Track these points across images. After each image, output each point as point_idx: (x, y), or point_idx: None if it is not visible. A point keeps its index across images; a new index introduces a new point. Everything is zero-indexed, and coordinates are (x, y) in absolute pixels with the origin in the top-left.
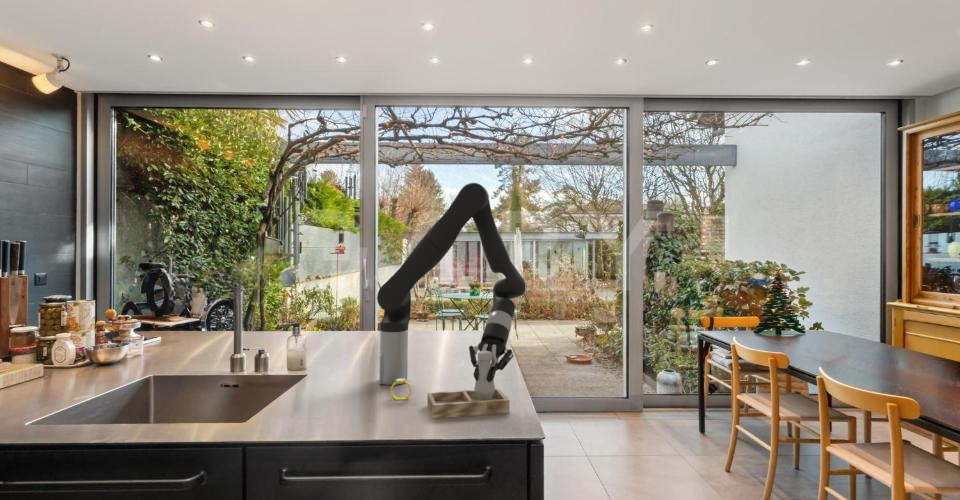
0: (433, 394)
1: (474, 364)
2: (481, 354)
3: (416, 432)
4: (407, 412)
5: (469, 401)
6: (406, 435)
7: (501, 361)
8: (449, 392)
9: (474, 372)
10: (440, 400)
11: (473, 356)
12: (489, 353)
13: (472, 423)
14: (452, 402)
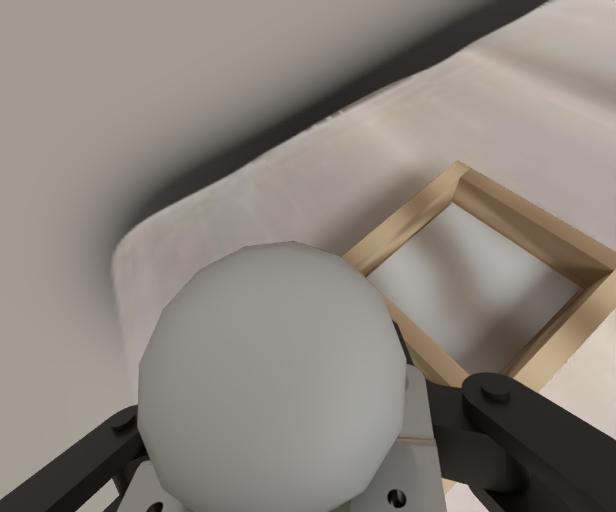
0: (603, 281)
1: (451, 388)
2: (286, 245)
3: (409, 110)
4: (577, 190)
5: (354, 267)
6: (417, 90)
7: (86, 452)
8: (548, 341)
9: (397, 334)
10: (559, 318)
11: (557, 453)
12: (165, 313)
13: (304, 228)
14: (486, 328)
